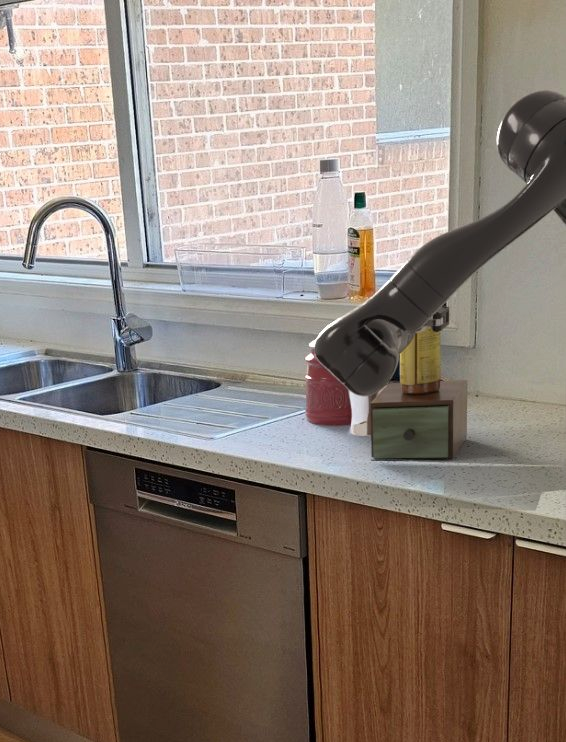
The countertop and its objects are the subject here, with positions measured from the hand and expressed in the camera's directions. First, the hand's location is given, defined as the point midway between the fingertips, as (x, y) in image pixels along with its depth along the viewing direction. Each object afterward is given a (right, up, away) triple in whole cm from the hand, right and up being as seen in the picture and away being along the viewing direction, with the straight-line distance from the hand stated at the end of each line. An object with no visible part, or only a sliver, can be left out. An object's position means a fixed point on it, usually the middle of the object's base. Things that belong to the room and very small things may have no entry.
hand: (404, 313), depth 181 cm
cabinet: (+8, -17, +19) cm, 26 cm away
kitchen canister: (+2, -7, +44) cm, 45 cm away
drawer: (+7, -17, +16) cm, 25 cm away
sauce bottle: (+7, -8, +15) cm, 18 cm away
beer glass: (+3, -12, +32) cm, 35 cm away
